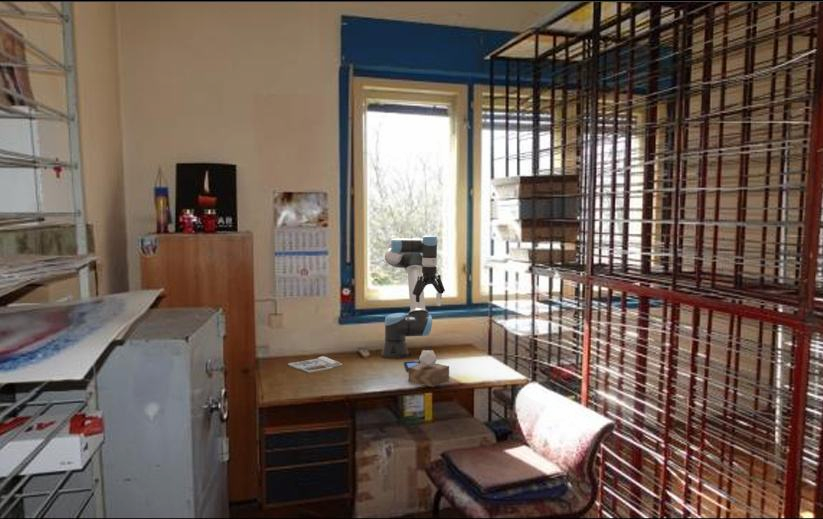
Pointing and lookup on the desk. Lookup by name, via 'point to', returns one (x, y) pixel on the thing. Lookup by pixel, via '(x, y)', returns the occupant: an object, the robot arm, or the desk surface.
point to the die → (427, 359)
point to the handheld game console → (412, 363)
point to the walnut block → (429, 374)
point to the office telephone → (315, 364)
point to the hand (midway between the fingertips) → (428, 307)
